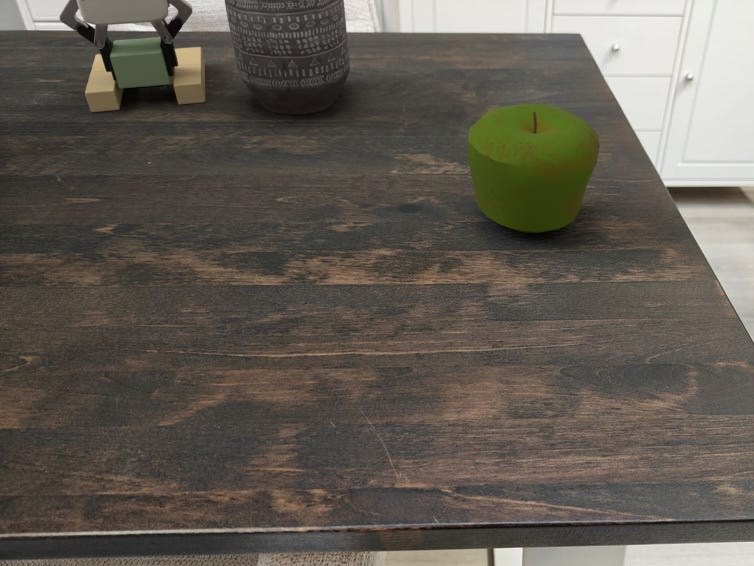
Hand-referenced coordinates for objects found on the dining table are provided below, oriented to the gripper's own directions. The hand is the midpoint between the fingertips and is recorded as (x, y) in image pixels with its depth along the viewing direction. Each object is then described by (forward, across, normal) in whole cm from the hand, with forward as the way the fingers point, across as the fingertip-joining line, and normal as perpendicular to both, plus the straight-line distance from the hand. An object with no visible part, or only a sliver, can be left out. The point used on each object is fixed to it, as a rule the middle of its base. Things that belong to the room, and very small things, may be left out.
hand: (144, 73), depth 97 cm
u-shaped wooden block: (+3, 0, -3) cm, 5 cm away
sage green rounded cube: (+1, 0, 0) cm, 1 cm away
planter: (+3, -19, +6) cm, 20 cm away
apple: (+3, -39, +42) cm, 57 cm away
